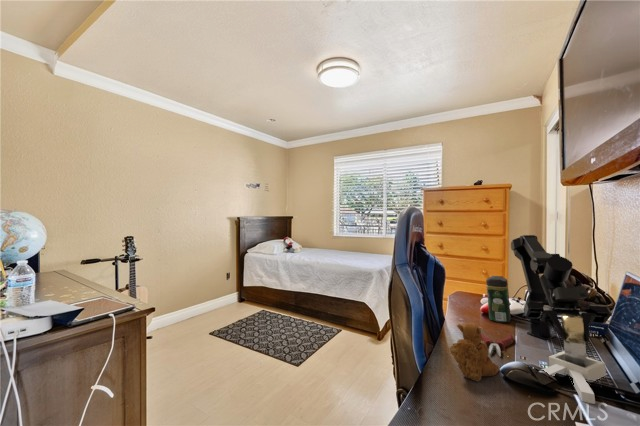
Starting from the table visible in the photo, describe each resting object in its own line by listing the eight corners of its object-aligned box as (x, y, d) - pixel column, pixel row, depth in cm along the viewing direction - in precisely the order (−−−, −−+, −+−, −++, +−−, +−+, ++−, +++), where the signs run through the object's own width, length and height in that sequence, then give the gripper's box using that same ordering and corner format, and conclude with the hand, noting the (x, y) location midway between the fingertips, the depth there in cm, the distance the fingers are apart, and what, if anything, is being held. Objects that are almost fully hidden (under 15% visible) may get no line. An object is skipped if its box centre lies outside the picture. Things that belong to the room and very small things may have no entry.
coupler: (565, 358, 77) (561, 312, 78) (586, 363, 75) (582, 315, 75) (565, 365, 74) (561, 316, 75) (588, 370, 71) (583, 320, 72)
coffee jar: (490, 315, 124) (487, 274, 125) (511, 318, 119) (508, 275, 120) (487, 321, 116) (484, 277, 117) (509, 324, 111) (506, 279, 112)
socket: (566, 362, 80) (565, 350, 80) (630, 384, 68) (628, 370, 68) (525, 379, 72) (524, 365, 72) (589, 407, 60) (587, 391, 60)
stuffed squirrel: (500, 369, 77) (496, 322, 78) (487, 391, 67) (483, 337, 68) (462, 358, 84) (460, 315, 85) (446, 377, 74) (442, 328, 75)
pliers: (474, 355, 87) (473, 347, 87) (476, 334, 104) (476, 327, 104) (518, 364, 81) (517, 355, 81) (512, 339, 98) (512, 332, 98)
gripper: (523, 274, 83) (539, 323, 72) (604, 276, 76) (635, 330, 65) (518, 294, 90) (532, 341, 79) (591, 297, 83) (618, 350, 72)
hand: (576, 340), depth 73 cm, fingers closed on coupler, 4 cm apart
